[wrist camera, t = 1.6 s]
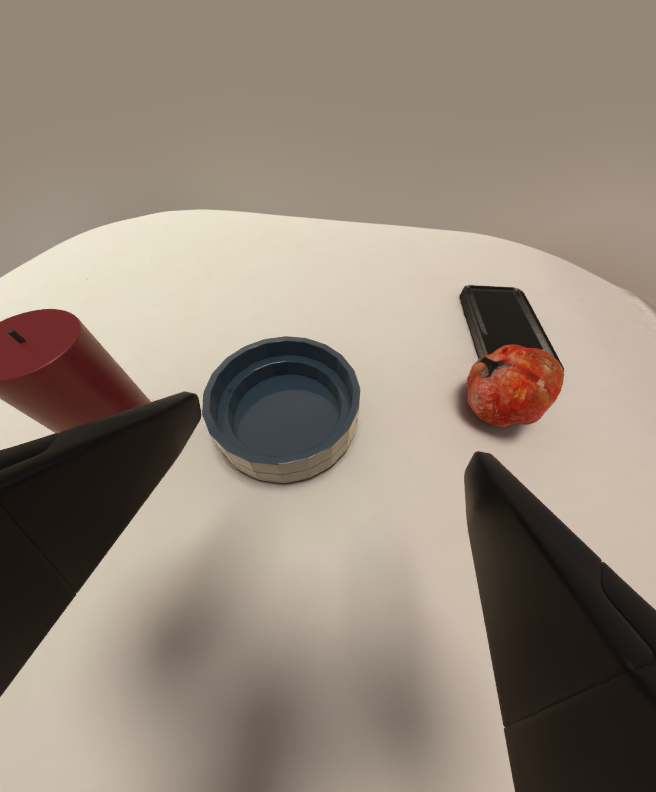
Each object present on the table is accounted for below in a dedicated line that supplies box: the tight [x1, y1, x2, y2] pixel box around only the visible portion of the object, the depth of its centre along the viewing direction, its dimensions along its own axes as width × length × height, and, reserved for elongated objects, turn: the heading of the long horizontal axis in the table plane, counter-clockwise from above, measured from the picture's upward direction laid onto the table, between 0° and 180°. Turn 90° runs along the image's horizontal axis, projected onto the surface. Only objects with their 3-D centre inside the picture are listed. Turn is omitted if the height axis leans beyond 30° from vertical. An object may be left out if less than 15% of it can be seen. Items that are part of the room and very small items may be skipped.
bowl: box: [202, 336, 360, 483], centre depth 26 cm, size 13×13×4 cm
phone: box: [460, 285, 564, 372], centre depth 34 cm, size 8×1×15 cm
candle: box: [0, 309, 151, 433], centre depth 20 cm, size 6×6×13 cm
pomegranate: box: [467, 344, 564, 427], centre depth 26 cm, size 7×7×10 cm
